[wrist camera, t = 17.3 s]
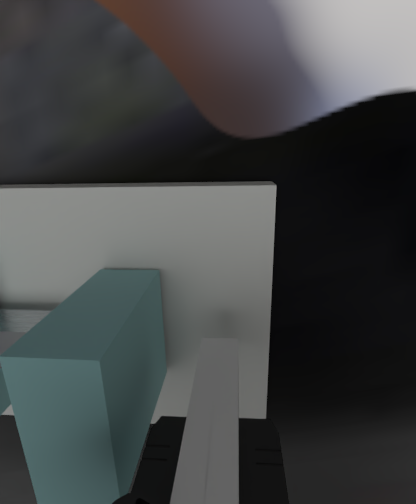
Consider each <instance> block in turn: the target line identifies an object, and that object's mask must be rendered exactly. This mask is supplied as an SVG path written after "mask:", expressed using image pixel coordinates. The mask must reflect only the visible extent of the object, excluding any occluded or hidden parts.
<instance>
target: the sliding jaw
mask: <svg viewBox="0 0 416 504" xmlns="http://www.w3.org/2000/svg"><path fill="white" fill-rule="evenodd" d="M166 373H167V368H166V354H165V341H164V327H163V313H162V299H161V286H160V272H159V270H112V269H100V270H99V271H98V272H97V273H96V274H94V275H93V276H92V277H91V278H90V279H89V280H87V281H86V282H85V283H84V284H83V285H82V286H80V287H79V288H78V289H77V290H76V291H75V292H73V293H72V294H71V295H70V296H69V297H68V298H66V299H65V300H64V301H63V302H62V303H61V304H59V305H58V306H57V307H56V308H55V309H54V310H52V311H46V310H9V309H0V416H1V415H2V413H3V412H4V411H5V410H6V409H7V408H8V407H9V406H10V405H12V409H13V412H14V416H15V420H16V424H17V427H18V431H19V435H20V439H21V443H22V446H23V450H24V454H25V458H26V461H27V465H28V469H29V473H30V477H31V480H32V484H33V488H34V492H35V496H36V499H37V503H38V504H112V503H113V502H114V501H115V500H116V499H118V498H120V497H122V496H124V495H126V494H128V491H129V488H130V485H131V482H132V479H133V476H134V473H135V469H136V466H137V463H138V460H139V457H140V454H141V451H142V448H143V445H144V441H145V438H146V435H147V432H148V429H149V426H150V423H151V420H152V417H153V414H154V410H155V407H156V404H157V401H158V398H159V395H160V392H161V389H162V386H163V382H164V379H165V376H166Z"/></svg>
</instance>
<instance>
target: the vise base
mask: <svg viewBox="0 0 416 504" xmlns="http://www.w3.org/2000/svg"><path fill="white" fill-rule="evenodd" d="M275 207H276V184H274V183H273V182H272V181H253V182H176V183H98V184H20V185H0V309H9V310H46V311H52V310H54V309H55V308H56V307H57V306H58V305H59V304H61V303H62V302H63V301H64V300H65V299H66V298H68V297H69V296H70V295H71V294H72V293H73V292H75V291H76V290H77V289H78V288H79V287H80V286H82V285H83V284H84V283H85V282H86V281H87V280H89V279H90V278H91V277H92V276H93V275H94V274H96V273H97V272H98V271H99V270H100V269H112V270H159V272H160V286H161V299H162V313H163V327H164V341H165V354H166V368H167V373H166V376H165V379H164V382H163V386H162V389H161V392H160V395H159V398H158V401H157V404H156V407H155V410H154V414H153V417H152V420H151V423H152V424H155V423H156V422H157V421H158V419H159V418H160V417H161V416H177V417H187V412H188V407H189V402H190V397H191V392H192V386H193V381H194V376H195V371H196V366H197V360H198V355H199V350H200V345H201V340H202V338H238V363H239V418H255V419H266V405H267V383H268V361H269V339H270V317H271V295H272V273H273V251H274V229H275ZM2 415H14V412H13V409H12V405H10V406H9V407H8V408H7V409H6V410H5V411H4V412H3V413H2Z"/></svg>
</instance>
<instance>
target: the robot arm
mask: <svg viewBox="0 0 416 504" xmlns="http://www.w3.org/2000/svg"><path fill="white" fill-rule="evenodd" d="M112 504H289V500H288V493H287V486H286V480H285V473H284V468H283V459H282V453H281V446H280V439H279V433H278V431H277V430H276V428H275V426H274V425H273V423H272V422H271V420H270V419H255V418H239V363H238V338H202V340H201V345H200V350H199V355H198V360H197V366H196V371H195V376H194V381H193V386H192V392H191V397H190V402H189V407H188V412H187V417H177V416H161V417H160V418H159V419H158V421H157V422H156V423H155V424H154V426H153V427H152V428H151V430H150V434H149V437H148V440H147V443H146V448H145V450H144V453H143V456H142V461H141V462H140V466H139V469H138V472H137V475H136V478H135V482H134V485H133V488H132V491H131V493H128V494H126V495H124V496H122V497H120V498H118V499H116V500H115V501H114V502H113V503H112Z"/></svg>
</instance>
